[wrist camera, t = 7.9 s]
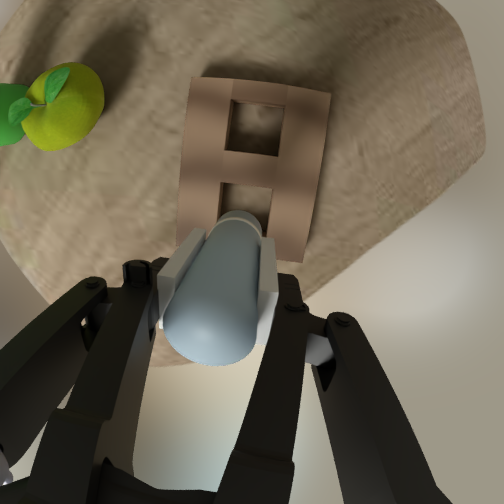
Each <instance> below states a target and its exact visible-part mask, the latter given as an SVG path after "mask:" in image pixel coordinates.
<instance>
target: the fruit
mask: <svg viewBox="0 0 504 504" xmlns="http://www.w3.org/2000/svg"><path fill="white" fill-rule="evenodd" d="M103 107H104V90H103V85H102V82H101V80H100V78H99V77H98V75H97V74H96V73H95V72H94V71H93V70H92V69H91V68H89V67H88V66H86V65H83V64H80V63H75V62H69V63H63V64H60V65H57V66H55V67H53V68H51V69H49V70H47V71H46V72H44V73H42V74H41V75H40V76H39V77H38V78H37V79H36V80H35V81H34V82H33V84H32V85H31V86H30V88H29V89H28V91H27V93H26V95H25V97H24V98H21V99H19V100H17V101H15V102H14V103H13V104H11V106H10V108H9V115H8V120H9V124H10V125H11V126H14V125H16V124H18V123H20V122H21V124H22V128H23V130H24V132H25V133H26V135H27V136H28V138H29V139H30V140H31V141H32V143H33V144H34V145H36V146H37V147H38V148H40V149H42V150H45V151H55V150H60V149H63V148H66V147H68V146H71V145H73V144H75V143H76V142H78V141H80V140H81V139H83V138H84V137H85V136H86V135H87V134H88V133H89V132H90V131H91V130H92V129H93V127H94V126H95V124H96V122H97V120H98V119H99V117H100V115H101V113H102V110H103Z"/></svg>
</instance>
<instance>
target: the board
mask: <svg viewBox="0 0 504 504" xmlns="http://www.w3.org/2000/svg"><path fill="white" fill-rule="evenodd" d="M330 100H331V93H326V92H322V91H317V90H312V89H307V88H301V87H296V86H290V85H283V84H277V83H269V82H261V81H252V80H242V79H229V78H210V77H191V83H190V89H189V96H188V103H187V111H186V119H185V127H184V136H183V146H182V156H181V167H180V180H179V194H178V211H177V234H176V246H180V245H181V244H182V243H183V241H184V240H185V239H186V238H187V236H188V235H189V234H190V233H191V231H192V230H193V229H194V228H199V229H206V239H207V238H208V235H209V233H210V231H211V230H212V228H213V227H214V226H215V225H216V223H217V221H218V220H219V219H220V215H221V205H222V195H223V186H224V182H225V183H234V184H242V185H250V186H257V187H265V188H272V196H271V203H270V209H269V216H268V223H267V229H266V231H262V237H267V238H274V242H275V253H276V260H284V261H291V262H298V263H302V262H303V258H304V253H305V248H306V243H307V238H308V233H309V228H310V223H311V218H312V213H313V208H314V202H315V197H316V191H317V186H318V180H319V174H320V168H321V162H322V156H323V150H324V143H325V136H326V130H327V123H328V115H329V108H330ZM234 103H245V104H254V105H262V106H270V107H277V108H284V112H283V119H282V127H281V134H280V141H279V148H278V155H277V156H273V155H266V154H258V153H251V152H242V151H233V150H228V143H229V135H230V127H231V119H232V112H233V104H234Z"/></svg>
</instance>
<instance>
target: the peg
mask: <svg viewBox="0 0 504 504" xmlns="http://www.w3.org/2000/svg"><path fill="white" fill-rule="evenodd" d="M261 239H262V229H261V225H260V223H259V221H258V220H257V219H256V218H255V217H254V216H253V215H252V214H250V213H248V212H246V211H242V210H233V211H230V212H227V213H225V214H224V215H223V216H221V217H220V219H219V220H218V221H217V223H216V225H215V226H214V227H213V228H212V230H211V231H210V233H209V235H208V238H207V239H206V241H205V243H204V244H203V246H202V248H201V249H200V251H199V253H198V254H197V256H196V258H195V259H194V261H193V263H192V264H191V266H190V268H189V269H188V271H187V273H186V275H185V276H184V278H183V280H182V281H181V283H180V285H179V287H178V288H177V290H176V292H175V294H174V295H173V297H172V299H171V301H170V302H169V304H168V306H167V308H166V309H165V312H164V315H163V330H164V333H165V335H166V338H167V339H168V341H169V343H170V344H171V345H172V347H173V348H174V349H175V350H176V351H177V352H179V353H180V354H181V355H183V356H184V357H186V358H188V359H189V360H191V361H194V362H196V363H200V364H203V365H210V366H225V365H229V364H233V363H236V362H238V361H240V360H241V359H243V358H245V357H246V356H247V355H248V354H249V353H250V352H251V351H252V349H253V347H254V345H255V343H256V339H257V324H258V310H257V294H258V277H259V259H260V245H261Z"/></svg>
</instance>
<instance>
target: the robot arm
mask: <svg viewBox="0 0 504 504" xmlns="http://www.w3.org/2000/svg"><path fill="white" fill-rule="evenodd" d="M205 241H206V229H199V228H194V229H193V230H192V231H191V233H190V234H189V235H188V236H187V238H186V239H185V240H184V241H183V243H182V244H181V245H180V246H179V247H178V249H177V250H176V251H175V253H174V254H173V255H172V256H171V258H164V257H160V258H158V259H155V260H154V261H153V262H152V263H150V262H148V261H145V260H131V261H128V262H125V263H124V264H123V278H124V283H123V285H122V287H118V288H110V287H107V283H106V280H105V279H103V278H101V277H96V276H92V277H89V278H85V279H83V280H82V281H80V282H79V283H78V284H76V285H75V286H74V287H73V288H71V289H70V290H69V291H68V292H66V293H65V294H64V295H63V296H61V297H60V298H59V299H58V300H56V301H55V302H54V303H53V304H52V305H50V306H49V307H48V308H47V309H46V310H44V311H43V312H42V313H41V314H40V315H38V316H37V317H36V318H35V319H34V320H33V321H32V322H30V323H29V324H28V325H27V326H26V327H25V328H24V329H22V330H21V331H20V332H19V333H18V334H17V335H16V336H15V337H14V338H13V339H11V340H10V341H9V342H8V343H7V344H6V345H5V346H4V347H3V348H2V349H1V350H0V504H288V503H289V498H290V493H291V488H292V482H293V477H294V469H295V466H294V463H293V461H292V456H293V449H294V443H295V436H296V430H297V423H298V416H299V408H300V401H301V393H302V384H303V375H304V366H305V362H306V363H310V364H312V365H311V368H312V372H313V376H314V380H315V383H316V387H317V391H318V395H319V399H320V403H321V407H322V411H323V415H324V419H325V423H326V427H327V431H328V435H329V439H330V444H331V447H332V452H333V456H334V461H335V465H336V469H337V474H338V478H339V483H340V487H341V491H342V496H343V501H344V504H452V503H451V502H450V500H449V499H448V498H447V497H446V496H445V495H444V494H443V493H442V491H441V490H440V489H439V488H438V487H437V486H436V483H435V481H434V478H433V476H432V473H431V471H430V469H429V466H428V464H427V461H426V459H425V457H424V454H423V452H422V450H421V447H420V445H419V443H418V441H417V438H416V436H415V434H414V432H413V430H412V427H411V425H410V423H409V421H408V419H407V417H406V414H405V412H404V410H403V408H402V406H401V404H400V402H399V400H398V398H397V396H396V394H395V392H394V390H393V388H392V386H391V384H390V382H389V380H388V378H387V376H386V374H385V372H384V370H383V368H382V366H381V364H380V362H379V360H378V358H377V357H376V355H375V353H374V351H373V349H372V347H371V345H370V344H369V342H368V340H367V338H366V336H365V334H364V333H363V331H362V329H361V327H360V325H359V323H358V322H357V320H356V319H355V318H354V317H352V316H351V315H349V314H346V313H344V312H333V313H330V314H329V315H328V317H327V319H324V318H320V317H317V316H314V315H312V314H311V313H309V307H308V306H307V305H306V304H305V303H304V302H303V300H302V296H301V291H300V287H299V282H298V279H297V278H296V277H295V276H294V275H290V274H283V273H277V265H276V253H275V242H274V238H267V237H262V239H261V245H260V259H259V277H258V294H257V310H258V324H257V339H256V343H255V344H259V345H266V347H265V351H264V354H263V358H262V361H261V365H260V368H259V371H258V375H257V378H256V381H255V385H254V388H253V391H252V394H251V398H250V401H249V404H248V407H247V410H246V413H245V417H244V420H243V423H242V426H241V429H240V433H239V435H238V438H237V441H236V444H235V447H234V449H233V450H232V452H231V455H230V457H229V461H228V463H227V466H226V469H225V471H224V474H223V477H222V480H221V483H220V486H219V488H218V491H217V492H211V491H204V490H161V489H156V488H154V487H152V486H149V485H148V484H146V483H144V482H142V481H140V480H139V479H137V478H135V477H134V472H133V465H132V460H133V451H134V444H135V438H136V431H137V424H138V419H139V413H140V407H141V401H142V396H143V391H144V386H145V381H146V376H147V371H148V367H149V362H150V357H151V353H152V349H153V344H154V340H155V336H156V327H155V325H156V323H157V321H158V319H159V328H160V329H163V315H164V312H165V309H166V308H167V306H168V304H169V302H170V301H171V299H172V297H173V295H174V294H175V292H176V290H177V288H178V287H179V285H180V283H181V281H182V280H183V278H184V276H185V275H186V273H187V271H188V269H189V268H190V266H191V264H192V263H193V261H194V259H195V258H196V256H197V254H198V253H199V251H200V249H201V248H202V246H203V244H204V243H205ZM84 318H85V321H86V324H85V325H84V326H82V325H81V322H82V320H83V319H84ZM74 384H75V385H74ZM73 385H74V387H73V389H72V392H71V395H70V397H69V400H68V402H67V405H66V406H65V408H64V409H59V408H57V407H58V405H59V404H60V403H61V401H62V400H63V398H64V397H65V396H66V395H67V393H68V392H69V391H70V389H71V388H72V386H73ZM47 421H48V422H47ZM46 422H47V424H46ZM45 424H46V427H45V430H44V433H43V436H42V438H41V441H40V444H39V448H38V450H37V453H36V457H35V460H34V463H33V466H32V470H31V474H30V476H28V477H26V478H23V479H20V480H17V481H15V482H13V475H12V473H11V472H10V471H9V468H11V467H12V466H13V465H15V464H16V463H17V462H18V460H19V459H20V458H21V457H22V456H23V455H24V454H25V453H26V451H27V450H28V449H29V447H30V446H31V444H32V443H33V441H34V440H35V438H36V437H37V435H38V434H39V432H40V431H41V429H42V428H43V427H44V425H45ZM3 484H5V485H3Z"/></svg>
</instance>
